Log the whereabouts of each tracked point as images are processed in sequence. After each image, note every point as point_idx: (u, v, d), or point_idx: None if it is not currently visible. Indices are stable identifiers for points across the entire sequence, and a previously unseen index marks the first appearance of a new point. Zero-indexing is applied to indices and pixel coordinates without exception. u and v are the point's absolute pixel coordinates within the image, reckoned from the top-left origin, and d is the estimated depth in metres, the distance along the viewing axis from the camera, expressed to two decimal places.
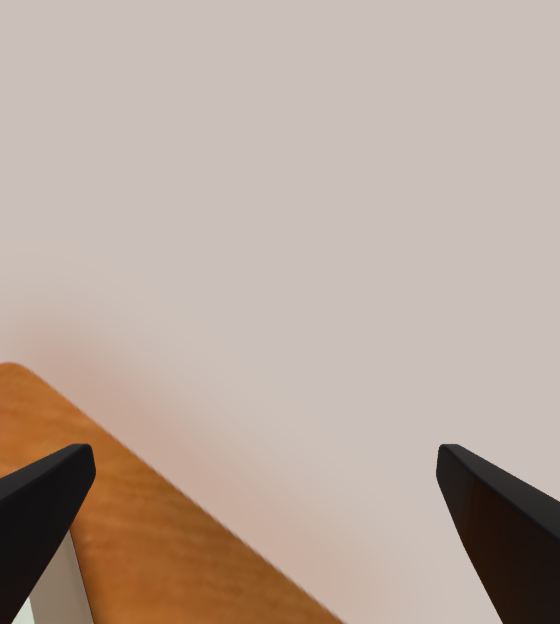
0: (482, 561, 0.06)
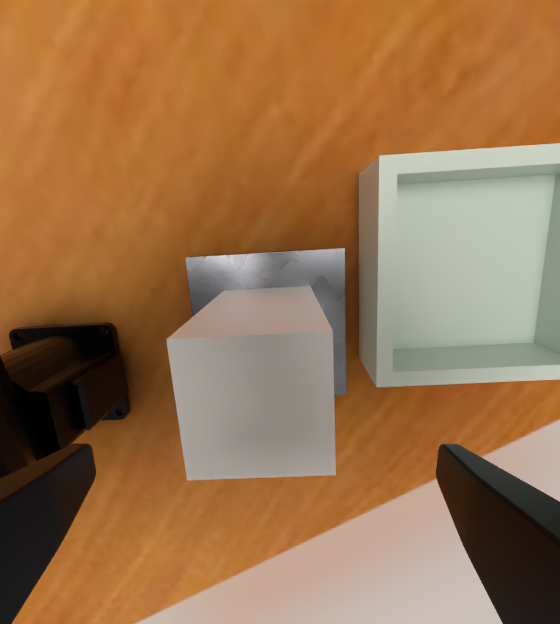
0: (482, 561, 0.06)
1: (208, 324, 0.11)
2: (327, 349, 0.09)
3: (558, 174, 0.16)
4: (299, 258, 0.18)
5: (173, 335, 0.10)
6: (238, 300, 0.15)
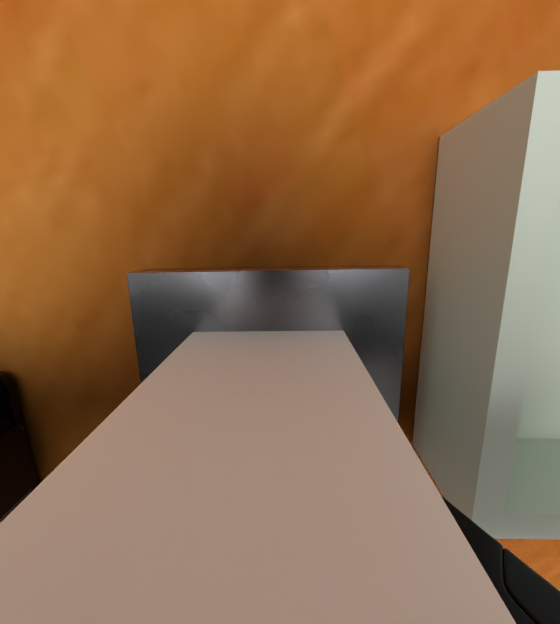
0: None
1: (64, 548, 0.03)
2: None
3: None
4: (328, 283, 0.10)
5: None
6: (208, 374, 0.07)
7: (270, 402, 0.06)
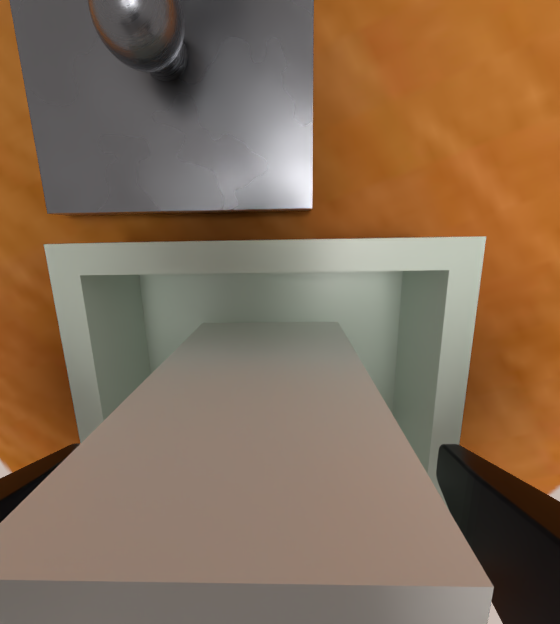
0: (482, 561, 0.06)
1: (123, 466, 0.04)
2: None
3: None
4: (298, 123, 0.10)
5: None
6: (219, 355, 0.08)
7: (273, 376, 0.07)
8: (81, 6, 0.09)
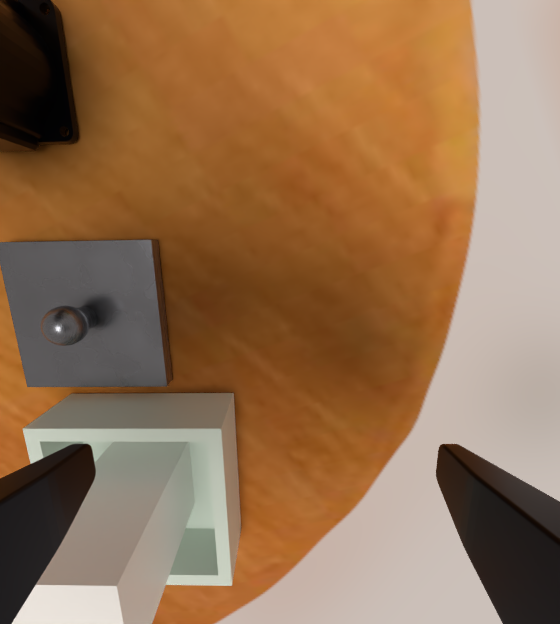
0: (482, 561, 0.06)
1: None
2: (114, 597, 0.12)
3: None
4: (155, 348, 0.19)
5: None
6: (106, 477, 0.18)
7: (120, 495, 0.16)
8: (42, 296, 0.19)
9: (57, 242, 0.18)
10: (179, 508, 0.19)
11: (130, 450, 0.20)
